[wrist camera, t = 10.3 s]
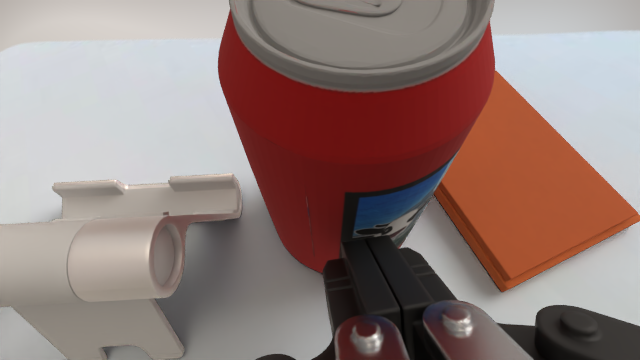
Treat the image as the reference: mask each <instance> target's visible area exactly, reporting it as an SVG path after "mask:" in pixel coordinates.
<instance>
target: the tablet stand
mask: <svg viewBox="0 0 640 360" xmlns="http://www.w3.org/2000/svg"><path fill="white" fill-rule="evenodd" d="M168 182H169V183H159V184H141V185H125V184H123V183H121V182H119V181H118V180H99V181H80V182H62V183H54V186H52V189H53V191H54V192H56V193H57V194H59V195H60V196H61V197H62V219H54V220H52V222H38V223H20V224H1V225H0V307H8V306H11V307H12V308H13V309H14V310H15V311H17V312H18V313H19V314H20V315H21V316H22V317H23V318H24V319H25V320H26V321H27V322H29V323H30V324H31V325H32V326H33V327H34V328H35V329H36V330H37V331H38V332H39V333H41V334H42V335H43V336H44V337H45V338H46V339H47V340H48V341H49V342H50V343H51V344H53V345H54V346H55V347H56V348H57V349H58V350H59V351H60V352H61V353H62V354H63V355H64V356H65V357H66V358H67V360H107V355H106V353H105V351H104V350H103V348H102V347H108V346H127V345H134V346H138V347H140V348H141V349H143V350H144V351H145V352H146V353H147V354H148V355H149V356H150V357H151V358H152V359H153V360H163V359H176V358H180V357H181V356H182V355H183V353H184V347H183V346H182V344H181V342H180V340H179V339H178V337H177V335H176V333H175V332H174V330H173V328H172V327H171V325H170V323H169V322H168V320H167V318H166V317H165V315H164V313H163V312H162V310H161V308H160V307H159V305H158V303H157V302H156V300H155V298H167V297H169V296H171V295H172V294H173V293H174V292H175V291H176V289H177V287H178V285H179V283H180V281H181V277H182V274H183V269H184V262H185V237H186V231H187V227H188V225H189V224H191V223H193V222H204V221H209V222H210V221H224V220H225V219H235V218H239V217H240V215H241V210H242V193H241V187H240V184H239V182H238V180H237V179H236V177H235V176H234V174H212V175H193V176H174V177H170V180H168Z"/></svg>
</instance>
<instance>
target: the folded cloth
mask: <svg viewBox="0 0 640 360" xmlns="http://www.w3.org/2000/svg"><path fill="white" fill-rule="evenodd" d="M434 195H435V196H436V198H437V199H438V201H439V202H440V204H441V205H442V207H443V208H444V209H445V211H446V212H447V214H448V215H449V217H450V218H451V220H452V221H453V222H454V224H455V225H456V227H457V228H458V230H459V231H460V233H461V234H462V236H463V237H464V238H465V240H466V241H467V243H468V244H469V246H470V247H471V249H472V250H473V251H474V253H475V254H476V256H477V257H478V259H479V260H480V262H481V263H482V265H483V266H484V267H485V269H486V270H487V272H488V273H489V275H490V276H491V278H492V279H493V280H494V282H495V283H496V285H497V286H498V288H499V289H500V291H501V292H504V291H506V290H508V289H510V288H512V287H514V286H516V285H518V284H520V283H522V282H524V281H526V280H528V279H530V278H532V277H533V276H535V275H537V274H539V273H541V272H543V271H545V270H547V269H549V268H551V267H553V266H554V265H556V264H558V263H560V262H562V261H564V260H566V259H568V258H570V257H572V256H574V255H576V254H577V253H579V252H581V251H583V250H585V249H587V248H589V247H591V246H593V245H595V244H597V243H599V242H600V241H602V240H604V239H606V238H608V237H610V236H612V235H614V234H616V233H618V232H620V231H621V230H623V229H625V228H627V227H629V226H631V225H633V224H635V223H637V222H639V221H640V215H639V214H638V212H637V211H636V210H635V209H634V208H633V207H632V206H631V205H630V204H629V203H628V202H627V201H626V200H625V199H624V198H623V197H622V196H621V195H620V194H619V193H618V192H617V191H616V190H615V189H614V188H613V187H612V186H611V185H610V184H609V183H608V182H607V181H606V180H605V179H604V178H603V177H602V176H601V175H600V174H599V173H598V172H597V171H596V170H595V169H594V168H593V167H592V166H591V165H590V164H589V163H588V162H587V161H586V160H585V159H584V158H583V157H582V156H581V155H580V154H579V153H578V152H577V151H576V150H575V149H574V148H573V147H572V146H571V145H570V144H569V143H568V142H567V141H566V140H565V139H564V138H563V137H562V136H561V135H560V134H559V133H558V132H557V131H556V130H555V129H554V128H553V127H552V126H551V125H550V124H549V123H548V122H547V121H546V120H545V119H544V118H543V117H542V116H541V115H540V114H539V113H538V112H537V111H536V110H535V109H534V108H533V107H532V106H531V105H530V104H529V103H528V102H527V101H526V100H525V99H524V98H523V97H522V96H521V95H520V94H519V93H518V92H517V91H516V90H515V89H514V88H513V87H512V86H511V85H510V84H509V83H508V82H507V81H506V80H505V79H504V78H503V77H502V76H501V75H500V74H499V73H498V72H497V71H495V74H494V82H493V87H492V90H491V94H490V96H489V98H488V101H487V103H486V104H485V106H484V108H483V110H482V111H481V113H480V115H479V117H478V118H477V120H476V122H475V124H474V125H473V127H472V129H471V131H470V132H469V134H468V136H467V137H466V139H465V141H464V143H463V144H462V146H461V148H460V150H459V151H458V153H457V155H456V156H455V158H454V160H453V162H452V163H451V165H450V167H449V169H448V170H447V172H446V174H445V175H444V177H443V179H442V180H441V182H440V184H439V185H438V187H437V189H436V190H435V192H434Z"/></svg>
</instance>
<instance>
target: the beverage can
mask: <svg viewBox="0 0 640 360" xmlns="http://www.w3.org/2000/svg"><path fill="white" fill-rule="evenodd" d="M494 1H495V0H229V4H230V12H229V16H228V19H227V23H226V26H225V30H224V33H223V37H222V41H221V44H220V49H219V57H218V74H219V79H220V84H221V87H222V90H223V93H224V96H225V98H226V101H227V104H228V107H229V109H230V112H231V115H232V117H233V120H234V123H235V126H236V128H237V131H238V134H239V136H240V139H241V142H242V145H243V147H244V150H245V153H246V155H247V158H248V161H249V163H250V166H251V168H252V171H253V173H254V176H255V179H256V181H257V184H258V186H259V189H260V191H261V194H262V196H263V199H264V201H265V204H266V207H267V209H268V212H269V214H270V216H271V219H272V221H273V223H274V226H275V228H276V230H277V233H278V235H279V237H280V239H281V241H282V243H283V245H284V246H285V247H286V249H287V250H288V251H289V252H290V254H291V255H292V256H294V257H295V258H296V259H297V260H298V261H299V262H301V263H302V264H304V265H305V266H307V267H309V268H311V269H313V270H315V271H318V272H321V273H323V271H322V270H323V268H324V266H325V264H326V262H327V260H333V259H340V258H342V252H341V242H346V241H352V240H358V239H364V240H365V238H370V237H377V236H383V235H389V236H390V238H391V239H392V241H393V242H394V244H395V245H396V247H397V248H398V249H399V248H400V246H401V245H402V243H403V242H404V240H405V239H406V237H407V236H408V234H409V233H410V231H411V229H412V228H413V226H414V225H415V223H416V221H417V220H418V218H419V217H420V215H421V213H422V212H423V210H424V209H425V207H426V205H427V204H428V202H429V200H430V199H431V197H432V195H433V194H434V192H435V190H436V189H437V187H438V185H439V184H440V182H441V180H442V179H443V177H444V175H445V174H446V172H447V170H448V169H449V167H450V165H451V163H452V162H453V160H454V158H455V156H456V155H457V153H458V151H459V150H460V148H461V146H462V144H463V143H464V141H465V139H466V137H467V136H468V134H469V132H470V131H471V129H472V127H473V125H474V124H475V122H476V120H477V118H478V117H479V115H480V113H481V111H482V110H483V108H484V106H485V104H486V103H487V101H488V98H489V96H490V94H491V90H492V87H493V82H494V74H495V58H494V50H493V42H492V34H491V27H490V18H491V15H492V12H493V7H494Z"/></svg>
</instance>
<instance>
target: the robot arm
mask: <svg viewBox="0 0 640 360" xmlns="http://www.w3.org/2000/svg"><path fill="white" fill-rule="evenodd" d="M341 252H342V258H340V259H333V260H327V262H326V264H325V266H324V268H323V270H322V271H323V278H324V285H325V292H326V299H327V307H328V313H329V319H330V324H331V330H332V335H333V339H332V341H331V343H330V345H329V346H328V347H327V349H326V350H325V351H323V352H322V353H321V354H320V355H318V356H317V357H315V358H313V359H312V360H640V326H637V325H634V324H631V323H627V322H624V321H621V320H618V319H615V318H612V317H608V316H605V315H602V314H599V313H596V312H593V311H589V310H586V309H583V308H579V307H574V306H567V305H553V306H548V307H545V308H543V309H541V310H540V311H539V312H538V313H537V315H536V321H535V326H527V325H511V324H500V323H496V322H495V321H494V320H493V319H492V318H491V317H490V316H489V315H488V314H487V313H485V312H484V311H483V310H482V309H480V308H479V307H477V306H475V305H473V304H470V303H467V302H463V301H458V300H457V299H456V297H455V296H454V295H453V294H452V292H451V291H450V290H449V289H448V287H447V286H446V285H445V284H444V282H443V281H442V280H441V279H440V278H439V276H438V275H437V274H435V271H434V270H433V269H432V268H431V266H429V265H428V263H427V261H426V260H425V259H424V258H423V256H422V255H421V254H419V253H417V252H416V251H414V250H412V249H410V248H408V247H407V248H400V249H398V248H397V247H396V245H395V244H394V242H393V241H392V239H391V238H390V236H389V235H383V236H377V237H370V238H365V240H364V239H358V240H352V241H346V242H341ZM256 360H296V359H294V358H292V357H290V356H287V355H283V354H271V355H266V356H263V357H260V358H258V359H256Z"/></svg>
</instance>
